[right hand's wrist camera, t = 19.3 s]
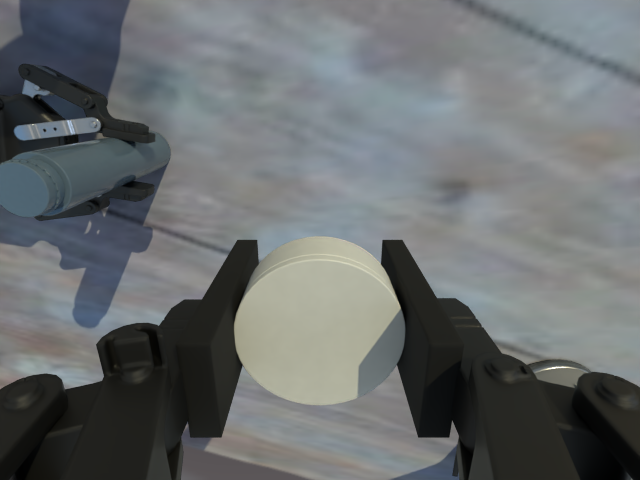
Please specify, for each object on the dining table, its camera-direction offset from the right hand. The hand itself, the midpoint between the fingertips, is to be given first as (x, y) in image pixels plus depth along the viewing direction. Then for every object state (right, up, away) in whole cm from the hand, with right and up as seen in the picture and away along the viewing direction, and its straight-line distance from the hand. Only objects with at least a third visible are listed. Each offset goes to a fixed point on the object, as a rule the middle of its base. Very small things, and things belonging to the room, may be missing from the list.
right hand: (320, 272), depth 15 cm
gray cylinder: (-18, +11, +25) cm, 33 cm away
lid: (0, -1, -4) cm, 4 cm away
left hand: (-15, +8, +19) cm, 26 cm away
